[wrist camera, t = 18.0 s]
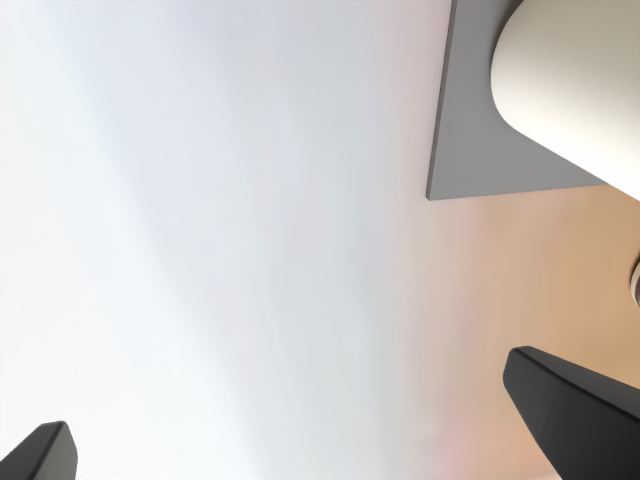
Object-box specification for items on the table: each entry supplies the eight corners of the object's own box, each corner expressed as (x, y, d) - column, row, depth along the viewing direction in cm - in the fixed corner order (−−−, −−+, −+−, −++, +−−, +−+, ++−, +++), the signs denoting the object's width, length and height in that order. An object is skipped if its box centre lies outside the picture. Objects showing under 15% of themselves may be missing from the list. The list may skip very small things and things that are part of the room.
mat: (425, 197, 23) (429, 200, 22) (460, -59, 17) (465, -59, 17) (613, 179, 25) (618, 183, 24) (693, -54, 19) (702, -54, 19)
